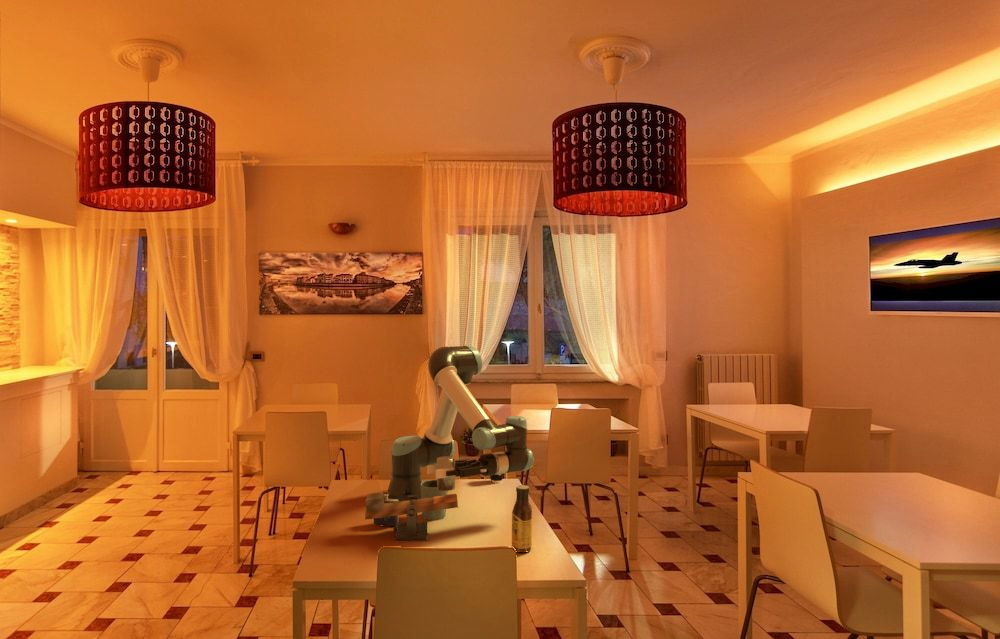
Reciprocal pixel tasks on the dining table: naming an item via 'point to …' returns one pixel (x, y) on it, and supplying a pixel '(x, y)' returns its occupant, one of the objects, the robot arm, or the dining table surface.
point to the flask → (391, 519)
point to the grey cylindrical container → (430, 491)
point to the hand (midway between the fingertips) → (431, 472)
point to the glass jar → (447, 482)
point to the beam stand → (411, 526)
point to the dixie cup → (496, 478)
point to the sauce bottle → (522, 520)
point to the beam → (379, 509)
